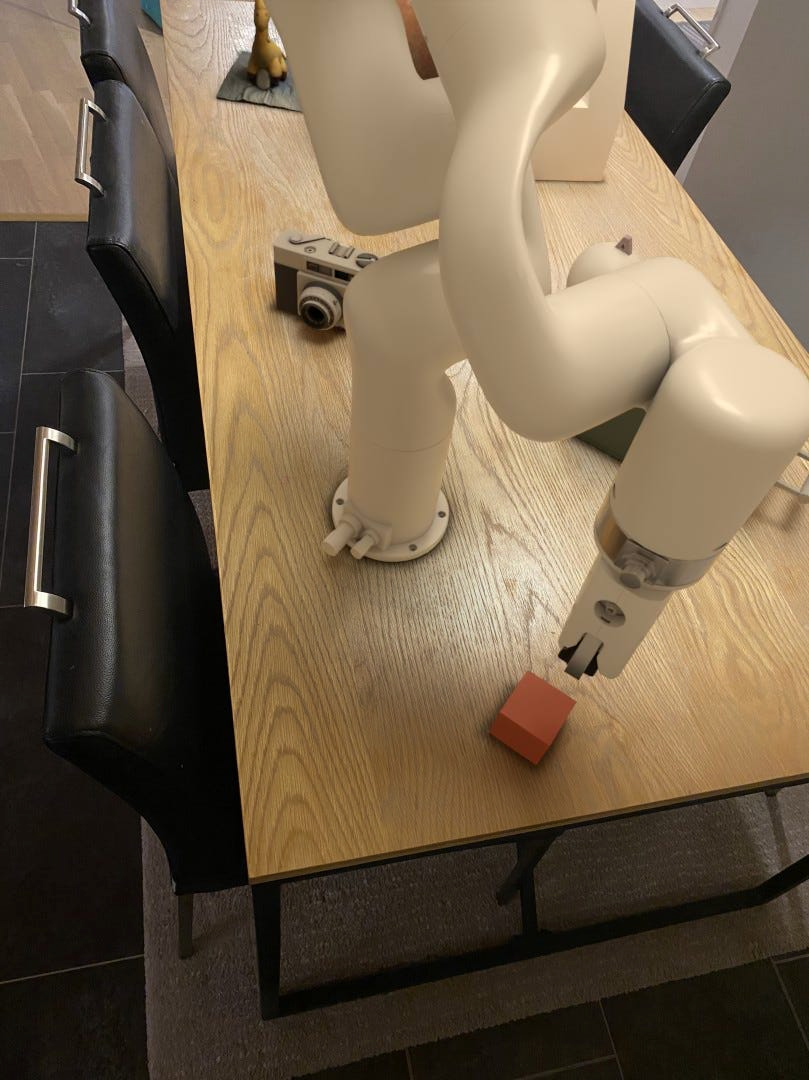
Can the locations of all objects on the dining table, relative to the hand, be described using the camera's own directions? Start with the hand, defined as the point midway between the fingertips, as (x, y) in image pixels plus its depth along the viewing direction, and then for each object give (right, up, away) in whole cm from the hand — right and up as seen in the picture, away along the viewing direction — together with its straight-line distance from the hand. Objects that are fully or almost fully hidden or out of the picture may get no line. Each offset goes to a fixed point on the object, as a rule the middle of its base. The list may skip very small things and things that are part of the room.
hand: (578, 659), depth 61 cm
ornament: (+12, +41, +44) cm, 61 cm away
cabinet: (+15, +23, +32) cm, 42 cm away
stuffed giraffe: (-37, +91, +74) cm, 123 cm away
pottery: (-16, +79, +68) cm, 106 cm away
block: (-3, -8, +8) cm, 12 cm away
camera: (-25, +38, +38) cm, 59 cm away
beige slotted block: (+10, +77, +69) cm, 103 cm away
